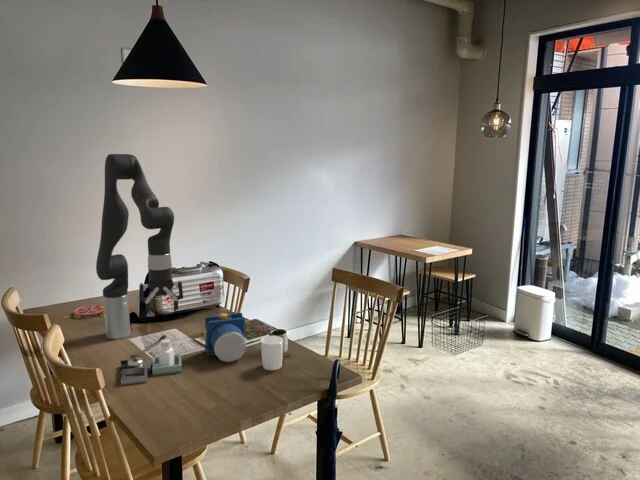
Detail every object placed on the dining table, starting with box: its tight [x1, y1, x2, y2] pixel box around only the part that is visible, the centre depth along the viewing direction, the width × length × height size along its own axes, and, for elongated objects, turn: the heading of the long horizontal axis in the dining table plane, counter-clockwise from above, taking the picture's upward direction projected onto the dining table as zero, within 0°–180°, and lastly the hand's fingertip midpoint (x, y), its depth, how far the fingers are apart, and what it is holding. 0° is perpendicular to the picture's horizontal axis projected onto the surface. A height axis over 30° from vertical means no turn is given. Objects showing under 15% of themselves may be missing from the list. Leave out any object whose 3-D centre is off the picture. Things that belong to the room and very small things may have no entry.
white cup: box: [260, 335, 284, 371], centre depth 180 cm, size 8×8×10 cm
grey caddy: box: [118, 356, 152, 386], centre depth 174 cm, size 15×10×4 cm, turn 17°
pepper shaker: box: [158, 338, 175, 367], centre depth 178 cm, size 4×4×10 cm
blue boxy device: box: [203, 312, 247, 363], centre depth 188 cm, size 13×15×15 cm
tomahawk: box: [130, 334, 167, 358], centre depth 197 cm, size 21×7×1 cm, turn 163°
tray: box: [151, 353, 183, 377], centre depth 179 cm, size 10×10×3 cm
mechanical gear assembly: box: [63, 302, 135, 319], centre depth 235 cm, size 30×4×15 cm
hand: (162, 311), depth 176 cm, fingers open, 8 cm apart
